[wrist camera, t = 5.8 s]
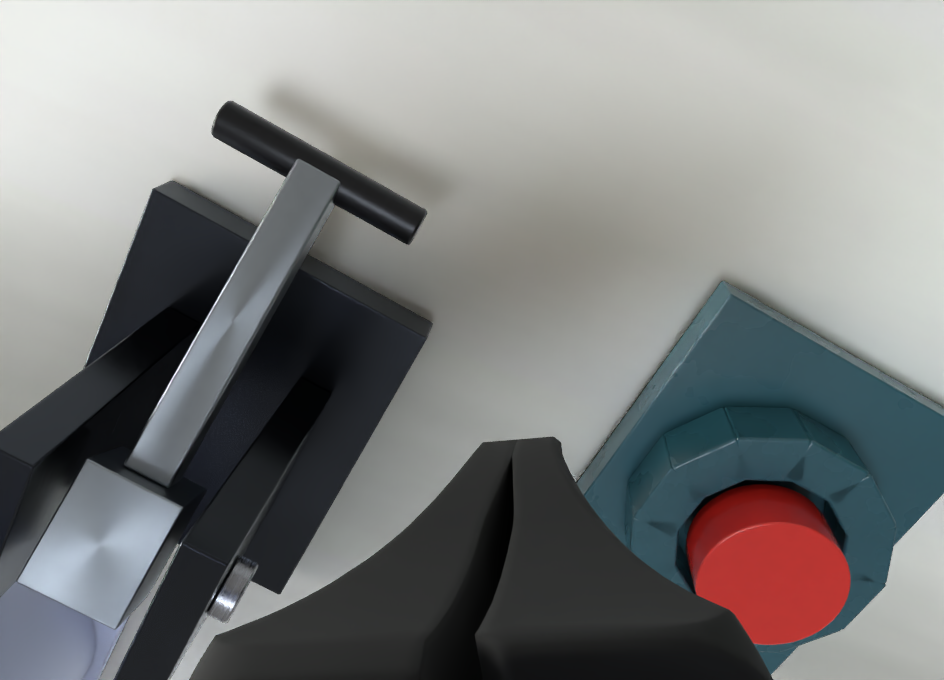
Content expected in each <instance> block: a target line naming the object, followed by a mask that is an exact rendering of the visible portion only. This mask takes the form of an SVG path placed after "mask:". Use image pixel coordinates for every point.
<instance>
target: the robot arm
mask: <svg viewBox="0 0 944 680" xmlns="http://www.w3.org/2000/svg"><path fill="white" fill-rule="evenodd" d="M129 616H130V615H129ZM129 616H128V617H127V618H126V619H125V621H124V622H123V623H122V624H121V625H120V626H119V627H118V628H117V629H116V630H114V629H112V628H110V627H107V626H105V625H103V624H101V623H99V622H97V621H95V620H93V619H91V618H89V617H87V616H85V615H83V614H81V613H79V612H77V611H75V610H73V609H71V608H68V607H66V606H64V605H62V604H60V603H58V602H56V601H54V600H52V599H50V598H48V597H46V596H44V595H42V594H40V593H38V592H36V591H34V590H32V589H29V588H27V587H25V586H23V585H21V584H19V583H17V582H15V583H14V584H13V585H12V586H11V587H10V588H9V589H8V590H7V591H6V592H5V593H4V594H3V595H2V596H1V597H0V680H99V678H100V676H101V674H102V672H103V670H104V668H105V666H106V664H107V661H108V659H109V657H110V655H111V653H112V651H113V649H114V647H115V645H116V643H117V641H118V639H119V636H120V634H121V632H122V630H123V628H124V626H125V624H126V622H127V620H128V618H129ZM189 680H773V679H772V677H771V675H770V673H769V671H768V669H767V667H766V665H765V663H764V661H763V659H762V657H761V656H760V654H759V652H758V650H757V649H756V647H755V645H754V644H753V642H752V640H751V639H750V637H749V635H748V634H747V632H746V631H745V629H744V628H743V626H742V625H741V623H740V622H739V620H738V619H737V617H736V616H735V614H734V613H733V612H732V611H730V610H729V609H727V608H724V607H722V606H720V605H718V604H715V603H713V602H711V601H709V600H707V599H704V598H702V597H700V596H698V595H695V594H693V593H691V592H689V591H687V590H685V589H684V588H682V587H680V586H679V585H677V584H675V583H673V582H672V581H670V580H668V579H667V578H665V577H663V576H662V575H661V574H659V573H658V572H657V571H655V570H654V569H653V568H651V567H650V566H648V565H647V564H646V563H644V562H643V561H642V560H641V559H639V558H638V557H637V556H636V555H635V554H634V553H633V552H632V551H631V550H629V549H628V548H627V547H626V546H625V545H624V544H623V543H622V542H621V541H620V540H619V539H618V538H617V537H616V536H615V535H614V534H613V533H612V531H611V530H610V529H609V528H608V527H607V526H606V525H605V523H604V522H603V521H602V520H601V519H600V517H599V516H598V515H597V513H596V512H595V511H594V509H593V508H592V507H591V505H590V504H589V503H588V501H587V500H586V498H585V497H584V495H583V494H582V492H581V490H580V489H579V487H578V485H577V484H576V482H575V481H574V479H573V477H572V475H571V473H570V471H569V469H568V467H567V465H566V463H565V460H564V457H563V455H562V448H561V442H560V441H558V440H557V439H556V438H555V437H543V438H531V439H519V440H507V441H495V442H483V443H482V444H481V445H480V446H479V448H478V449H477V450H476V451H475V452H474V453H473V454H472V456H471V457H470V458H469V459H468V461H467V462H466V463H465V464H464V466H463V467H462V468H461V469H460V471H459V472H458V473H457V474H456V475H455V477H454V478H453V479H452V480H451V482H450V483H449V484H448V485H447V486H446V487H445V488H444V490H443V491H442V492H441V493H440V494H439V495H438V496H437V498H436V499H435V500H434V501H433V502H432V503H431V504H430V505H429V506H428V507H427V508H426V509H425V510H424V511H423V512H422V513H421V514H420V515H419V516H418V517H417V518H416V519H415V520H414V521H413V522H412V523H411V524H410V525H409V526H408V527H407V528H406V529H405V530H404V531H402V532H401V533H400V534H399V535H398V536H397V537H395V538H394V539H393V540H392V541H391V542H389V543H388V544H387V545H386V546H384V547H383V548H382V549H380V550H379V551H378V552H377V553H375V554H374V555H373V556H371V557H370V558H369V559H367V560H366V561H364V562H363V563H361V564H360V565H358V566H357V567H355V568H354V569H352V570H350V571H349V572H347V573H346V574H344V575H343V576H341V577H340V578H338V579H337V580H335V581H334V582H332V583H330V584H329V585H327V586H325V587H324V588H322V589H320V590H318V591H316V592H314V593H313V594H311V595H309V596H307V597H305V598H303V599H301V600H299V601H297V602H295V603H293V604H291V605H289V606H287V607H285V608H283V609H281V610H279V611H277V612H274V613H272V614H270V615H267V616H265V617H263V618H260V619H258V620H255V621H253V622H250V623H248V624H245V625H243V626H240V627H238V628H235V629H233V630H230V631H228V632H225V633H222V634H219V635H216V636H215V638H214V639H213V641H212V642H211V644H210V645H209V647H208V648H207V650H206V652H205V653H204V655H203V656H202V658H201V659H200V661H199V663H198V664H197V666H196V668H195V670H194V672H193V674H192V676H191V677H190V679H189Z"/></svg>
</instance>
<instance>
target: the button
mask: <svg viewBox="0 0 944 680" xmlns="http://www.w3.org/2000/svg"><path fill="white" fill-rule="evenodd" d="M686 552H687V558H688V562H689V566H690V571H691V575H692V579H693V584H694V588H695V592H696V595H698V596H700V597H702V598H704V599H707V600H709V601H711V602H713V603H715V604H718V605H720V606H722V607H724V608H727V609H729V610H730V611H732V612H733V613H734V614H735V616H736V617H737V619H738V620H739V622H740V623H741V625H742V626H743V628H744V629H745V631H746V632H747V634H748V635H749V637H750V639H751V640H752V642H753V644H761V645H778V644H786V643H791V642H795V641H798V640H802V639H804V638H807V637H809V636H811V635H813V634H815V633H817V632H819V631H820V630H822V629H823V628H824V627H826V626H827V625H828V624H829V623H830V622H832V621H833V620H834V619H835V617H836V616H837V615H838V614H839V613H840V611H841V610H842V608H843V606H844V605H845V602H846V600H847V598H848V594H849V591H850V583H851V577H850V570H849V566H848V563H847V560H846V558H845V556H844V554H843V552H842V550H841V548H840V546H839V544H838V543H837V541H836V539H835V537H834V535H833V533H832V531H831V529H830V527H829V525H828V523H827V521H826V520H825V518H824V516H823V514H822V513H821V511H820V510H819V509H818V508H817V506H816V505H815V504H814V503H813V502H812V501H810V500H809V499H808V498H807V497H805V496H803V495H802V494H800V493H798V492H796V491H794V490H792V489H789V488H786V487H783V486H778V485H772V484H751V485H744V486H740V487H736V488H733V489H730V490H727V491H725V492H723V493H721V494H719V495H718V496H716V497H714V498H713V499H711V500H710V501H709V502H708V503H707V504H705V505H704V506H703V507H702V508H701V509H700V511H699V512H698V513H697V515H696V516H695V517H694V519H693V521H692V523H691V525H690V527H689V530H688V533H687V538H686Z"/></svg>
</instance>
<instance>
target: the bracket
mask: <svg viewBox="0 0 944 680" xmlns="http://www.w3.org/2000/svg"><path fill="white" fill-rule="evenodd" d="M257 228H258V227H257V226H255V225H253V224H251V223H250V222H248V221H246V220H244V219H242V218H241V217H239V216H237V215H235V214H233V213H231V212H230V211H228V210H226V209H224V208H222V207H220V206H219V205H217V204H215V203H213V202H211V201H210V200H208V199H206V198H204V197H202V196H200V195H199V194H197V193H195V192H193V191H191V190H189V189H188V188H186V187H184V186H182V185H180V184H179V183H177V182H175V181H170V182H167V183H165V184H163V185H160V186H158V187H156V188H153V189H152V191H151V194H150V196H149V199H148V202H147V204H146V207H145V209H144V212H143V215H142V217H141V220H140V222H139V225H138V228H137V230H136V233H135V235H134V238H133V241H132V243H131V246H130V248H129V251H128V254H127V256H126V259H125V261H124V264H123V267H122V269H121V272H120V274H119V277H118V280H117V282H116V285H115V287H114V290H113V293H112V295H111V298H110V300H109V303H108V306H107V308H106V311H105V313H104V316H103V319H102V321H101V324H100V326H99V329H98V332H97V334H96V337H95V339H94V342H93V345H92V347H91V350H90V352H89V355H88V358H87V360H86V363H85V365H84V368H83V370H82V371H80V372H79V373H78V374H76V375H75V376H74V377H72V378H71V379H70V380H68V381H67V382H66V383H64V384H63V385H62V386H60V387H59V388H58V389H56V390H55V391H53V392H52V393H51V394H49V395H48V396H47V397H45V398H44V399H43V400H41V401H40V402H39V403H37V404H36V405H35V406H33V407H32V408H31V409H29V410H28V411H27V412H25V413H24V414H22V415H21V416H20V417H18V418H17V419H16V420H14V421H13V422H12V423H10V424H9V425H8V426H6V427H5V428H4V429H2V430H1V431H0V597H1V596H2V595H3V594H4V593H5V592H6V591H7V590H8V589H9V588H10V587H11V586H12V585H13V584H14V583H15V582H16V581H17V578H18V576H19V575H20V573H21V571H22V569H23V568H24V566H25V564H26V562H27V561H28V559H29V557H30V555H31V554H32V552H33V550H34V548H35V547H36V545H37V543H38V541H39V540H40V538H41V536H42V534H43V533H44V531H45V529H46V528H47V526H48V524H49V522H50V521H51V519H52V517H53V515H54V514H55V512H56V510H57V508H58V507H59V505H60V503H61V501H62V500H63V498H64V496H65V494H66V493H67V491H68V489H69V487H70V486H71V484H72V482H73V480H74V479H75V477H76V475H77V473H78V472H79V470H80V468H81V466H82V465H83V463H84V461H85V460H86V459H87V458H90V457H92V456H95V455H98V454H101V453H104V452H107V451H109V450H112V449H115V448H118V447H121V446H124V447H126V448H128V449H130V450H131V449H132V448H133V446H134V444H135V442H136V441H137V439H138V437H139V435H140V433H141V432H142V430H143V428H144V426H145V425H146V423H147V421H148V419H149V418H150V416H151V414H152V412H153V411H154V409H155V407H156V405H157V404H158V402H159V400H160V398H161V397H162V395H163V393H164V391H165V390H166V388H167V386H168V384H169V382H170V381H171V379H172V377H173V375H174V374H175V372H176V370H177V368H178V367H179V365H180V363H181V361H182V360H183V358H184V356H185V354H186V353H187V351H188V349H189V347H190V346H191V344H192V342H193V340H194V339H195V337H196V335H197V333H198V331H199V330H200V328H201V326H202V324H203V323H204V321H205V319H206V317H207V316H208V314H209V312H210V310H211V309H212V307H213V305H214V303H215V302H216V300H217V298H218V296H219V295H220V293H221V291H222V289H223V288H224V286H225V284H226V282H227V280H228V279H229V277H230V275H231V273H232V272H233V270H234V268H235V266H236V265H237V263H238V261H239V259H240V258H241V256H242V254H243V252H244V251H245V249H246V247H247V245H248V244H249V242H250V240H251V238H252V237H253V235H254V233H255V231H256V230H257ZM432 325H433V323H432V322H430V321H428V320H427V319H425V318H423V317H421V316H419V315H417V314H416V313H414V312H412V311H410V310H408V309H406V308H405V307H403V306H401V305H399V304H397V303H396V302H394V301H392V300H390V299H388V298H386V297H385V296H383V295H381V294H379V293H377V292H375V291H374V290H372V289H370V288H368V287H366V286H365V285H363V284H361V283H359V282H357V281H355V280H354V279H352V278H350V277H348V276H346V275H344V274H343V273H341V272H339V271H337V270H335V269H334V268H332V267H330V266H328V265H326V264H324V263H323V262H321V261H319V260H317V259H315V258H313V257H312V256H310V255H308V254H307V256H306V258H305V259H304V261H303V263H302V265H301V267H300V268H299V270H298V272H297V274H296V275H295V277H294V279H293V281H292V283H291V284H290V286H289V288H288V290H287V291H286V293H285V295H284V297H283V299H282V300H281V302H280V304H279V306H278V307H277V309H276V311H275V313H274V315H273V316H272V318H271V320H270V322H269V323H268V325H267V327H266V329H265V331H264V332H263V334H262V336H261V338H260V340H259V341H258V343H257V345H256V347H255V348H254V350H253V352H252V354H251V356H250V357H249V359H248V361H247V363H246V364H245V366H244V368H243V370H242V372H241V373H240V375H239V377H238V379H237V380H236V382H235V384H234V386H233V388H232V389H231V391H230V393H229V395H228V396H227V398H226V400H225V402H224V404H223V405H222V407H221V409H220V411H219V412H218V414H217V416H216V418H215V420H214V421H213V423H212V425H211V427H210V428H209V430H208V432H207V434H206V436H205V437H204V439H203V441H202V443H201V445H200V446H199V448H198V450H197V452H196V453H195V455H194V457H193V459H192V461H191V462H190V464H189V466H188V468H187V469H186V471H185V473H184V475H183V477H185V478H186V479H188V480H190V481H192V482H194V483H196V484H198V485H200V486H202V487H204V488H206V489H207V491H206V493H205V495H204V497H203V498H202V500H201V502H200V504H199V506H198V507H197V509H196V511H195V513H194V514H193V516H192V518H191V520H190V522H189V523H188V525H187V527H186V529H185V531H184V532H183V534H182V536H181V538H180V540H179V541H178V543H177V544H179V547H178V549H177V551H176V553H175V555H174V557H173V559H172V561H171V563H170V565H169V568H168V570H167V572H166V574H165V576H164V578H163V580H162V582H161V584H160V586H159V588H158V590H157V592H156V594H155V596H154V598H153V600H152V602H151V604H150V606H149V608H148V610H147V612H146V614H145V616H144V619H143V621H142V623H141V625H140V627H139V629H138V631H137V633H136V635H135V637H134V639H133V641H132V643H131V645H130V647H129V649H128V651H127V653H126V655H125V657H124V659H123V661H122V663H121V665H120V667H119V670H118V672H117V674H116V676H115V678H114V680H170V679H171V677H172V676H173V674H174V672H175V670H176V669H177V667H178V665H179V664H180V662H181V660H182V659H183V657H184V655H185V653H186V652H187V650H188V648H189V647H190V645H191V643H192V642H193V640H194V638H195V637H196V635H197V633H198V631H199V630H200V628H201V626H202V625H203V623H204V621H205V620H206V618H207V616H210V617H212V618H214V619H216V620H218V621H220V622H222V623H227V622H228V621H229V619H230V617H231V616H232V614H233V612H234V610H235V608H236V607H237V605H238V603H239V601H240V599H241V597H242V596H243V594H244V592H245V590H246V588H247V586H248V585H249V583H250V581H253V582H255V583H257V584H259V585H261V586H263V587H265V588H267V589H269V590H271V591H273V592H275V593H277V594H281V592H282V590H283V589H284V587H285V585H286V583H287V582H288V580H289V578H290V576H291V575H292V573H293V571H294V569H295V568H296V566H297V564H298V563H299V561H300V559H301V557H302V556H303V554H304V552H305V550H306V549H307V547H308V545H309V543H310V542H311V540H312V538H313V536H314V535H315V533H316V531H317V529H318V528H319V526H320V524H321V522H322V521H323V519H324V517H325V515H326V514H327V512H328V510H329V508H330V507H331V505H332V503H333V501H334V500H335V498H336V496H337V494H338V493H339V491H340V489H341V488H342V486H343V484H344V482H345V481H346V479H347V477H348V475H349V474H350V472H351V470H352V468H353V467H354V465H355V463H356V461H357V460H358V458H359V456H360V454H361V453H362V451H363V449H364V447H365V446H366V444H367V442H368V440H369V439H370V437H371V435H372V433H373V432H374V430H375V428H376V426H377V425H378V423H379V421H380V419H381V418H382V416H383V414H384V412H385V411H386V409H387V407H388V406H389V404H390V402H391V400H392V399H393V397H394V395H395V393H396V392H397V390H398V388H399V386H400V385H401V383H402V381H403V379H404V378H405V376H406V374H407V372H408V371H409V369H410V367H411V365H412V364H413V362H414V360H415V358H416V357H417V355H418V353H419V351H420V350H421V348H422V346H423V344H424V343H425V341H426V339H427V337H428V334H429V332H430V330H431V327H432Z"/></svg>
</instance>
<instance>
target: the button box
mask: <svg viewBox="0 0 944 680" xmlns="http://www.w3.org/2000/svg"><path fill="white" fill-rule="evenodd" d="M576 484H577V485H578V487H579V489H580V490H581V492H582V494H583V495H584V497H585V498H586V500H587V501H588V503H589V504H590V505H591V507H592V508H593V509H594V511H595V512H596V513H597V515H598V516H599V517H600V519H601V520H602V521H603V522H604V523H605V525H606V526H607V527H608V528H609V529H610V530H611V531H612V533H613V534H614V535H615V536H616V537H617V538H618V539H619V540H620V541H621V542H622V543H623V544H624V545H625V546H626V547H627V548H628V549H629V550H631V551H632V552H633V553H634V554H635V555H636V556H637V557H638V558H639V559H641V560H642V561H643V562H644V563H646V564H647V565H648V566H650V567H651V568H653V569H654V570H655V571H657V572H658V573H659V574H661V575H662V576H663V577H665V578H667V579H668V580H670V581H672V582H673V583H675V584H677V585H679V586H680V587H682V588H684V589H685V590H687V591H689V592H691V593H693V594H695V595H696V592H695V588H694V584H693V579H692V575H691V571H690V566H689V562H688V558H687V552H686V538H687V533H688V530H689V527H690V525H691V523H692V521H693V519H694V517H695V516H696V515H697V513H698V512H699V511H700V509H701V508H702V507H703V506H704V505H705V504H707V503H708V502H709V501H710V500H711V499H713V498H714V497H716V496H718V495H719V494H721V493H723V492H725V491H727V490H730V489H733V488H736V487H740V486H744V485H751V484H772V485H778V486H783V487H786V488H789V489H792V490H794V491H796V492H798V493H800V494H802V495H803V496H805V497H807V498H808V499H809V500H810V501H812V502H813V503H814V504H815V505H816V506H817V508H818V509H819V510H820V511H821V513H822V514H823V516H824V518H825V520H826V521H827V523H828V525H829V527H830V529H831V531H832V533H833V535H834V537H835V539H836V541H837V543H838V544H839V546H840V548H841V550H842V552H843V554H844V556H845V558H846V560H847V563H848V566H849V570H850V577H851V583H850V591H849V594H848V598H847V600H846V602H845V605H844V606H843V608H842V610H841V611H840V613H839V614H838V615H837V616H836V617H835V619H834V620H833V621H832V622H830V623H829V624H828V625H827V626H826V627H824V628H823V629H822V630H820V631H819V632H817V633H815V634H813V635H811V636H809V637H807V638H804V639H802V640H798V641H795V642H791V643H786V644H778V645H761V644H754V645H755V647H756V649H757V650H758V652H759V654H760V656H761V657H762V659H763V661H764V663H765V665H766V667H767V669H768V671H769V673H770V675H771V674H772V673H773V672H774V671H775V670H776V669H777V668H778V667H779V666H780V665H781V664H782V663H783V662H784V661H785V660H786V658H787V657H788V656H789V655H790V654H791V653H792V652H793V651H794V650H795V649H796V648H797V647H798V646H799V645H802V644H805V643H808V642H810V641H813V640H816V639H819V638H821V637H824V636H827V635H830V634H832V633H835V632H838V631H840V630H841V629H844V628H845V627H846V626H847V625H848V624H849V623H850V622H851V621H852V620H853V619H854V618H855V617H856V616H857V615H858V614H859V613H860V612H861V611H862V610H863V609H864V608H865V607H866V606H867V604H868V603H869V602H870V601H871V600H872V599H873V598H874V597H875V596H876V595H877V594H878V593H879V592H880V591H881V590H882V589H883V588H884V587H885V585H886V584H885V583H886V581H887V576H888V571H889V566H890V561H891V556H892V551H893V546H894V545H895V544H896V543H897V542H898V541H899V540H900V539H901V538H902V536H903V535H904V534H905V533H906V532H907V531H908V530H909V529H910V528H911V527H912V526H913V525H914V524H915V523H916V522H917V521H918V520H919V519H920V518H921V516H922V515H923V514H924V513H925V512H926V511H927V510H928V509H929V508H930V507H931V506H932V505H933V504H934V503H935V502H936V501H937V500H938V499H939V498H940V497H941V495H942V494H943V493H944V407H942V406H940V405H939V404H937V403H935V402H933V401H932V400H930V399H928V398H927V397H925V396H923V395H921V394H920V393H918V392H916V391H914V390H913V389H911V388H909V387H907V386H906V385H904V384H902V383H900V382H899V381H897V380H895V379H894V378H892V377H890V376H888V375H887V374H885V373H883V372H881V371H880V370H878V369H876V368H874V367H873V366H871V365H869V364H868V363H866V362H864V361H862V360H861V359H859V358H857V357H855V356H854V355H852V354H850V353H848V352H847V351H845V350H843V349H841V348H840V347H838V346H836V345H835V344H833V343H831V342H829V341H828V340H826V339H824V338H822V337H821V336H819V335H817V334H815V333H814V332H812V331H810V330H809V329H807V328H805V327H803V326H802V325H800V324H798V323H796V322H795V321H793V320H791V319H789V318H788V317H786V316H784V315H782V314H781V313H779V312H777V311H776V310H774V309H772V308H770V307H769V306H767V305H765V304H763V303H762V302H760V301H758V300H756V299H755V298H753V297H751V296H749V295H748V294H746V293H744V292H743V291H741V290H739V289H737V288H736V287H734V286H732V285H730V284H729V283H727V282H725V281H722V282H721V283H720V284H719V286H718V287H717V288H716V290H715V291H714V293H713V294H712V295H711V297H710V298H709V299H708V301H707V302H706V304H705V305H704V306H703V308H702V309H701V311H700V312H699V313H698V315H697V316H696V318H695V319H694V320H693V322H692V323H691V325H690V326H689V327H688V329H687V330H686V332H685V333H684V334H683V336H682V337H681V339H680V340H679V341H678V343H677V344H676V345H675V347H674V348H673V350H672V351H671V352H670V354H669V355H668V357H667V358H666V359H665V361H664V362H663V364H662V365H661V366H660V368H659V369H658V371H657V372H656V373H655V375H654V376H653V378H652V379H651V380H650V382H649V383H648V385H647V386H646V387H645V389H644V390H643V391H642V393H641V394H640V396H639V397H638V398H637V400H636V401H635V403H634V404H633V405H632V407H631V408H630V410H629V411H628V412H627V414H626V415H625V417H624V418H623V419H622V421H621V422H620V424H619V425H618V426H617V428H616V429H615V431H614V432H613V433H612V435H611V436H610V437H609V439H608V440H607V442H606V443H605V444H604V446H603V447H602V449H601V450H600V451H599V453H598V454H597V456H596V457H595V458H594V460H593V461H592V463H591V464H590V465H589V467H588V468H587V470H586V471H585V472H584V474H583V475H582V477H581V478H580V479H579V481H578V482H577V483H576Z"/></svg>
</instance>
